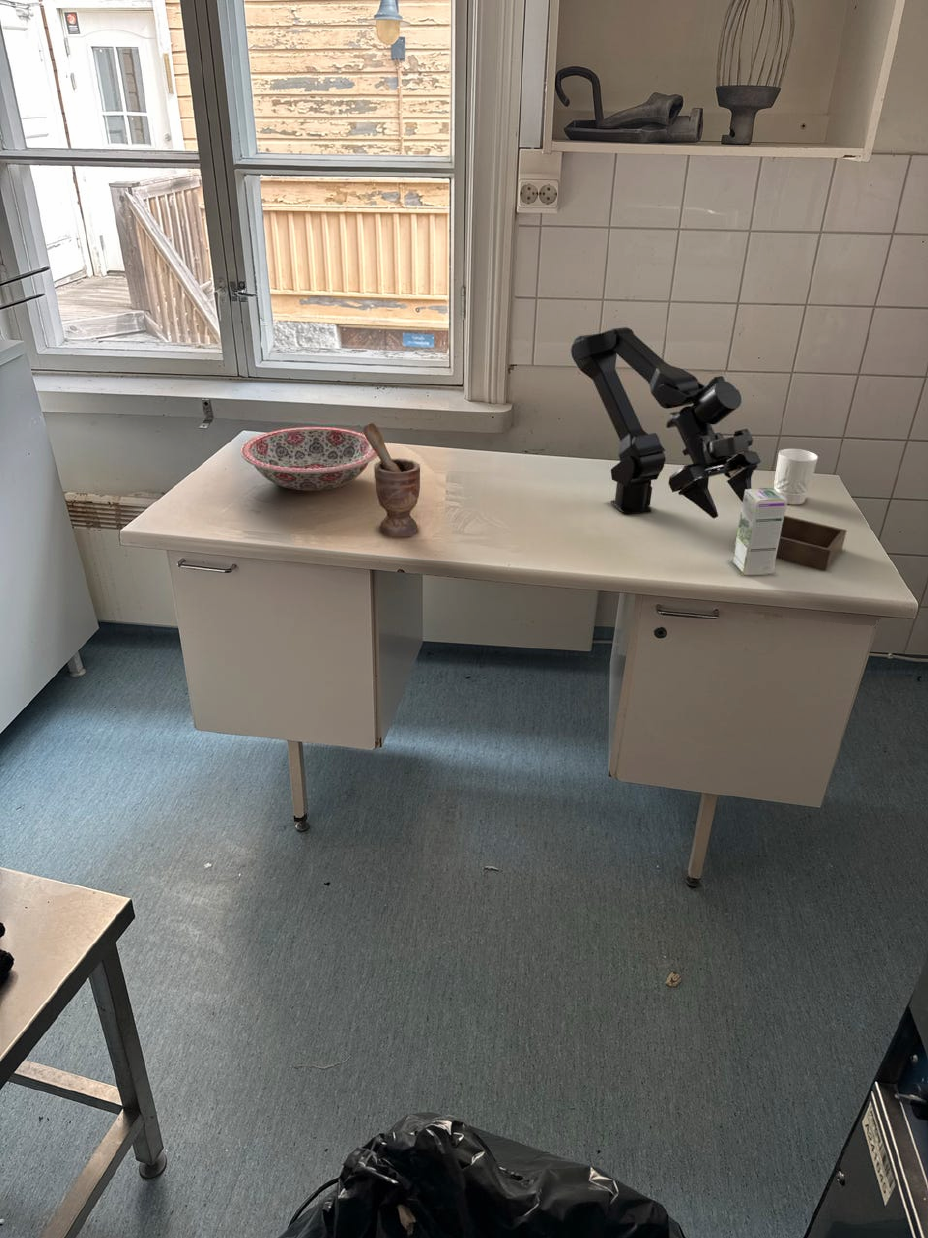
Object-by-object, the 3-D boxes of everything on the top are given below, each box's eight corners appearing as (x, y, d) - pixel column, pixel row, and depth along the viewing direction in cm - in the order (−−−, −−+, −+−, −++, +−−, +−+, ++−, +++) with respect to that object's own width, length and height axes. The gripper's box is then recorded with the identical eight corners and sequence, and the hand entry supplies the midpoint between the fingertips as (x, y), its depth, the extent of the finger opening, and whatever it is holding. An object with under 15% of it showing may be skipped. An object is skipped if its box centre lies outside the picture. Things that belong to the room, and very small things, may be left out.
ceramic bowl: (218, 479, 196) (214, 443, 192) (330, 452, 213) (328, 418, 209) (292, 520, 177) (290, 481, 173) (408, 487, 195) (408, 451, 191)
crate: (741, 548, 172) (745, 529, 170) (761, 529, 180) (765, 510, 178) (825, 570, 164) (830, 550, 162) (841, 549, 173) (846, 530, 171)
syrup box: (773, 574, 162) (790, 499, 155) (742, 576, 161) (757, 499, 154) (760, 561, 167) (775, 487, 160) (730, 562, 166) (744, 487, 159)
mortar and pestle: (354, 534, 172) (351, 432, 163) (368, 517, 180) (366, 418, 170) (413, 541, 170) (413, 438, 161) (424, 523, 178) (425, 424, 168)
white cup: (807, 495, 197) (818, 451, 193) (807, 508, 191) (817, 462, 186) (770, 490, 200) (779, 446, 195) (768, 502, 193) (778, 457, 188)
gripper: (690, 422, 156) (727, 503, 154) (762, 408, 165) (798, 484, 163) (652, 452, 166) (686, 529, 163) (722, 437, 175) (756, 509, 172)
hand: (733, 512), depth 165 cm, fingers open, 9 cm apart
